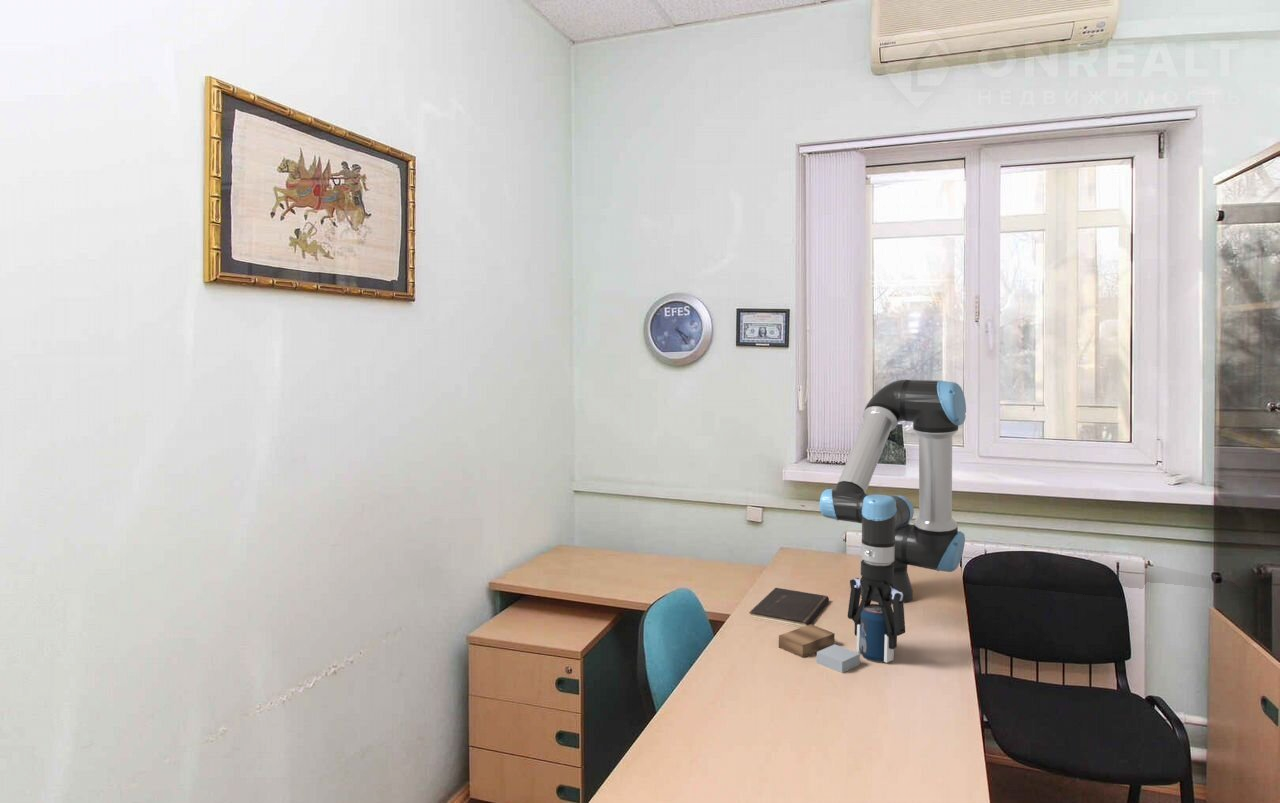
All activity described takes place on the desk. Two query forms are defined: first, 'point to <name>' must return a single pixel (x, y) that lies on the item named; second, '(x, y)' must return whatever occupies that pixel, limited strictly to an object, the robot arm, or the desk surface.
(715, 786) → the desk surface
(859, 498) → the robot arm
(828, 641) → the walnut block
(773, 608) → the hardcover book
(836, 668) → the slate block
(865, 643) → the soda can
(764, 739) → the desk surface
